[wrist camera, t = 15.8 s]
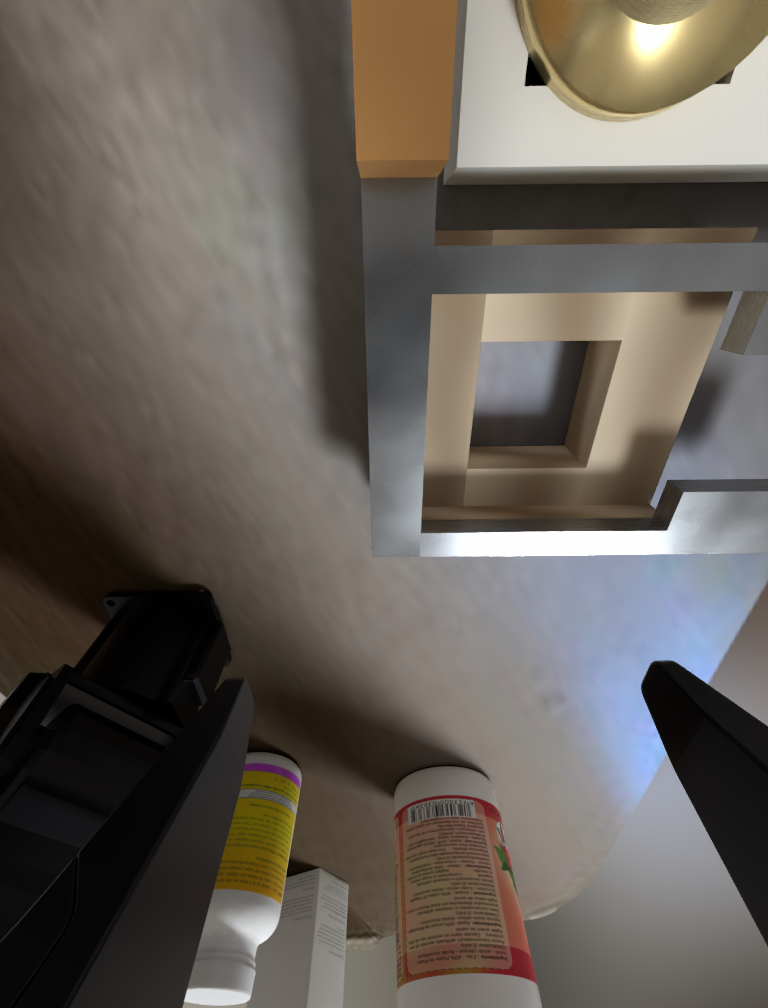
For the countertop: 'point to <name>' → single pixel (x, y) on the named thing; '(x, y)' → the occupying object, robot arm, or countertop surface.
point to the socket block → (600, 395)
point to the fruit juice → (456, 897)
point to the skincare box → (304, 946)
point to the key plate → (502, 270)
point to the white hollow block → (591, 121)
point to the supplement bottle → (247, 882)
